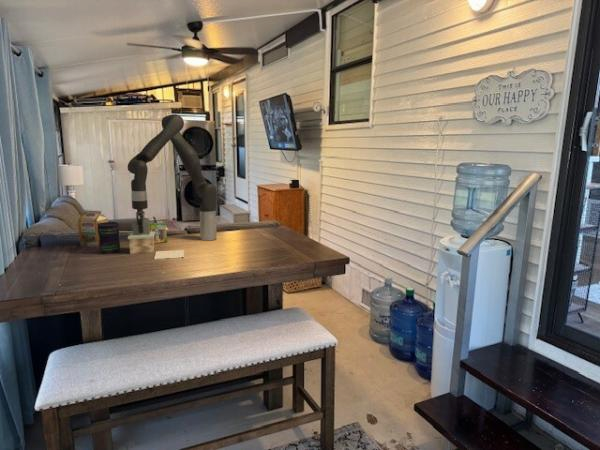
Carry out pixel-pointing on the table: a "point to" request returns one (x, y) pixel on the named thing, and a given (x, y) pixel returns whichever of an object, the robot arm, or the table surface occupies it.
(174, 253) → the mat
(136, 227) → the lid
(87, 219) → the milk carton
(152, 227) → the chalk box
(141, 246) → the box
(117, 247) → the dark blue cylinder
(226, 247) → the table surface
